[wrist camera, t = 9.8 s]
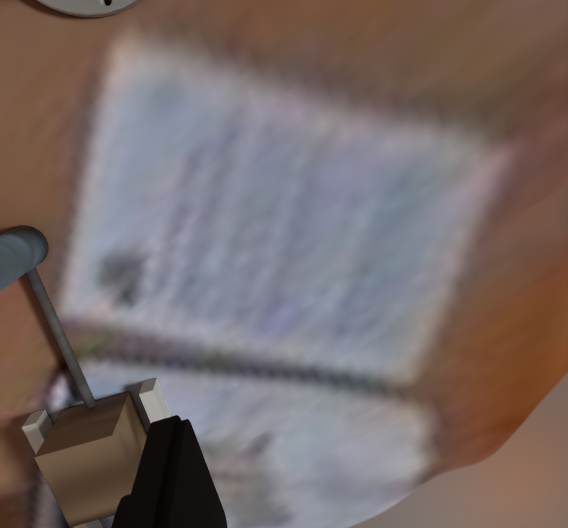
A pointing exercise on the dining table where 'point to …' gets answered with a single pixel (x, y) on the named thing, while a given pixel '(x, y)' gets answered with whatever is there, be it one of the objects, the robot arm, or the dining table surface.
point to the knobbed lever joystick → (78, 411)
